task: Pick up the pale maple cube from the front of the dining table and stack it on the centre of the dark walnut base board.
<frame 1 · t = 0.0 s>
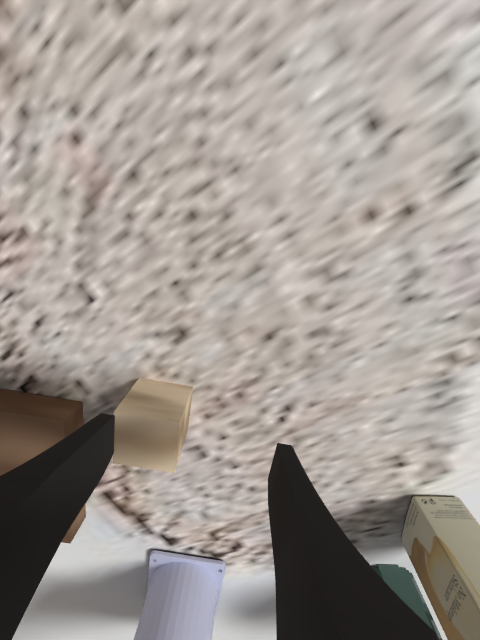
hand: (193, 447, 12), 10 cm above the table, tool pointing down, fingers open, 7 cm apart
skincare box: (426, 517, 27), on the table
walnut base: (9, 452, 26), on the table
maple block: (164, 404, 24), on the table
can: (382, 581, 30), on the table
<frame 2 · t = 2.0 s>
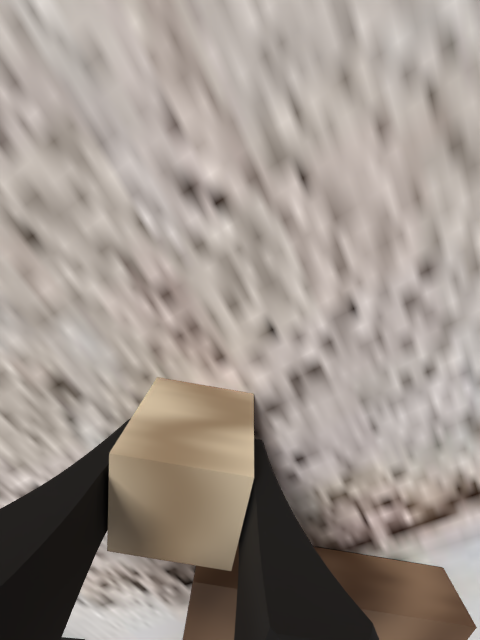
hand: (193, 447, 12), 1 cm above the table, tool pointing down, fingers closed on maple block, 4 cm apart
walnut base: (295, 619, 18), on the table
maple block: (199, 425, 13), on the table, touching gripper
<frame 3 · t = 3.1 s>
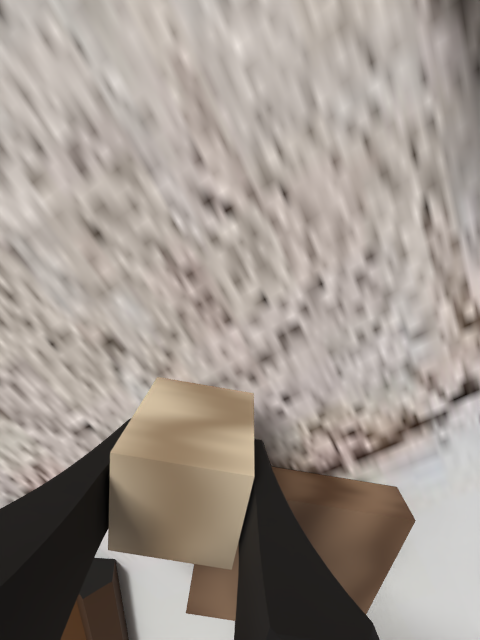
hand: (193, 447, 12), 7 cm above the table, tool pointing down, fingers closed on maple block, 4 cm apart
walnut base: (285, 536, 23), on the table
maple block: (199, 424, 14), point 5 cm above the table, touching gripper
pan flute: (21, 622, 30), on the table
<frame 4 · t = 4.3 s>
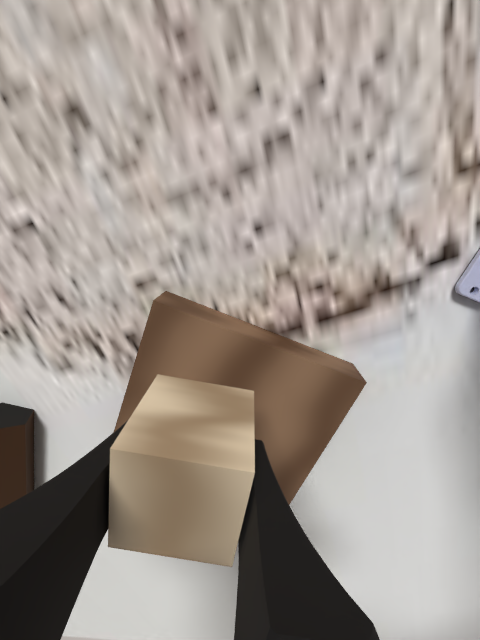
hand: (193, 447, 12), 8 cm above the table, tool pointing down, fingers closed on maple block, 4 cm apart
walnut base: (226, 407, 21), on the table
maple block: (200, 422, 14), point 7 cm above the table, touching gripper
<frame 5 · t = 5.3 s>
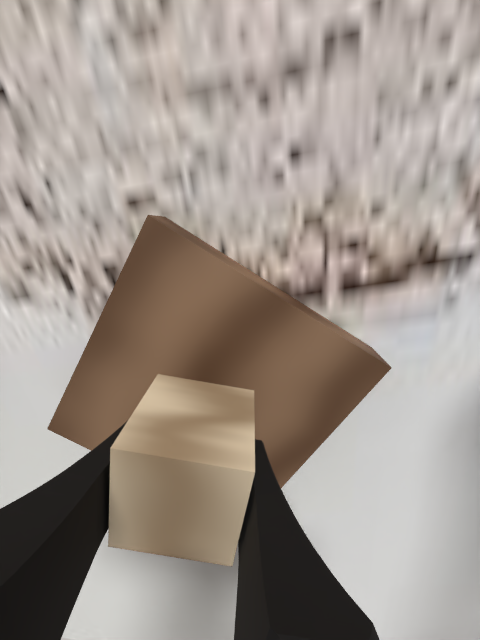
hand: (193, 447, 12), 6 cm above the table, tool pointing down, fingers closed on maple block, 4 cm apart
walnut base: (212, 377, 18), on the table
maple block: (200, 422, 14), point 4 cm above the table, touching gripper
when the fingers open (5 cm above the table, at t = 6.4 s): maple block stays where it is, resting on walnut base.
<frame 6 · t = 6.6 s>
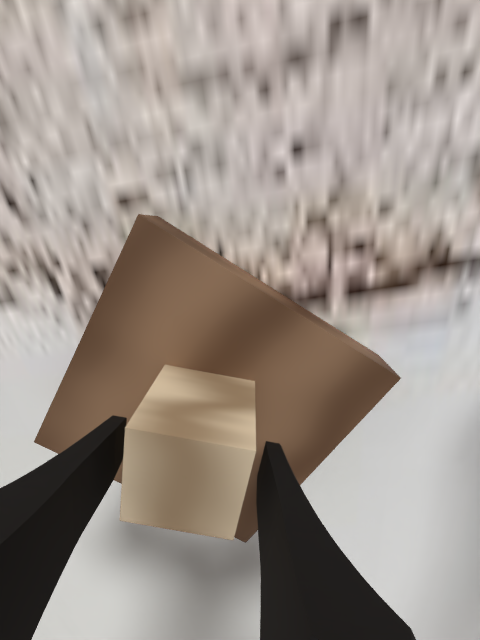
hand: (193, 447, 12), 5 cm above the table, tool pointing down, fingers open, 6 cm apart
walnut base: (210, 386, 17), on the table
maple block: (203, 410, 14), point 2 cm above the table, touching walnut base
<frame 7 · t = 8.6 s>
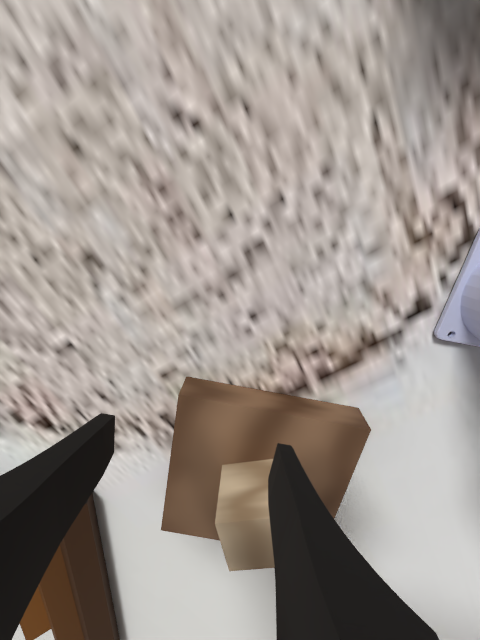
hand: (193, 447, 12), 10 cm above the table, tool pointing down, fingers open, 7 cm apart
walnut base: (255, 459, 24), on the table
maple block: (255, 483, 22), point 2 cm above the table, touching walnut base
pan flute: (6, 558, 31), on the table
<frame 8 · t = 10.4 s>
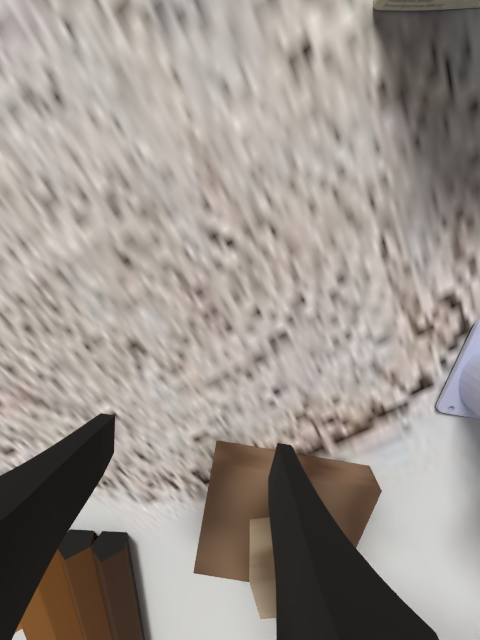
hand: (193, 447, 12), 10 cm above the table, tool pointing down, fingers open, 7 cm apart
walnut base: (277, 508, 27), on the table
maple block: (279, 534, 25), point 2 cm above the table, touching walnut base
pan flute: (46, 591, 34), on the table
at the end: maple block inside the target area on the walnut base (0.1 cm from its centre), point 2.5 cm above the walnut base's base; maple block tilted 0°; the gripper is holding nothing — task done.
